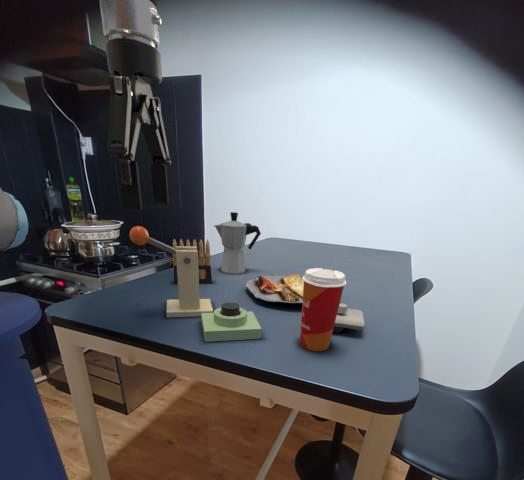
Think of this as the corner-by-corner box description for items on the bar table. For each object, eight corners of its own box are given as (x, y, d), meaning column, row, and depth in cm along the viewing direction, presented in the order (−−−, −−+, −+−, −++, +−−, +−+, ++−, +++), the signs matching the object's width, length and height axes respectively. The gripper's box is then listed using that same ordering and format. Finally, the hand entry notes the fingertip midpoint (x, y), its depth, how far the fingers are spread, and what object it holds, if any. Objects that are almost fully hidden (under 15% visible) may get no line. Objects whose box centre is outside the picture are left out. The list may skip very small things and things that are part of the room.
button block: (204, 341, 60) (204, 322, 58) (201, 322, 67) (200, 304, 65) (261, 338, 62) (262, 320, 60) (252, 320, 70) (252, 303, 68)
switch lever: (126, 241, 62) (132, 224, 60) (128, 238, 65) (134, 221, 64) (190, 269, 67) (196, 254, 66) (189, 265, 70) (195, 250, 69)
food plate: (237, 282, 94) (237, 271, 92) (308, 280, 101) (309, 269, 99) (263, 314, 73) (264, 300, 72) (350, 308, 80) (352, 295, 79)
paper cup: (300, 332, 66) (309, 265, 59) (337, 340, 64) (350, 271, 57) (289, 348, 59) (297, 274, 53) (330, 358, 57) (344, 282, 50)
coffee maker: (213, 273, 101) (212, 212, 93) (214, 266, 109) (214, 209, 101) (259, 275, 103) (262, 215, 94) (257, 268, 111) (260, 212, 102)
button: (222, 317, 61) (222, 309, 60) (220, 310, 64) (220, 302, 63) (240, 317, 62) (241, 308, 61) (237, 310, 65) (238, 302, 64)
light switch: (360, 320, 73) (364, 300, 71) (362, 339, 65) (367, 316, 63) (317, 315, 75) (320, 294, 73) (314, 332, 67) (317, 309, 64)
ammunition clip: (211, 281, 94) (210, 239, 88) (211, 283, 92) (211, 240, 87) (174, 281, 91) (170, 238, 86) (174, 283, 90) (170, 239, 84)
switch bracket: (166, 317, 69) (160, 252, 62) (167, 304, 75) (162, 244, 69) (213, 315, 71) (212, 253, 64) (209, 303, 78) (208, 245, 71)
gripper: (120, 6, 35) (143, 213, 45) (182, 72, 57) (187, 202, 67) (53, 1, 35) (90, 210, 45) (140, 69, 57) (152, 199, 67)
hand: (148, 205), depth 56 cm, fingers open, 13 cm apart
